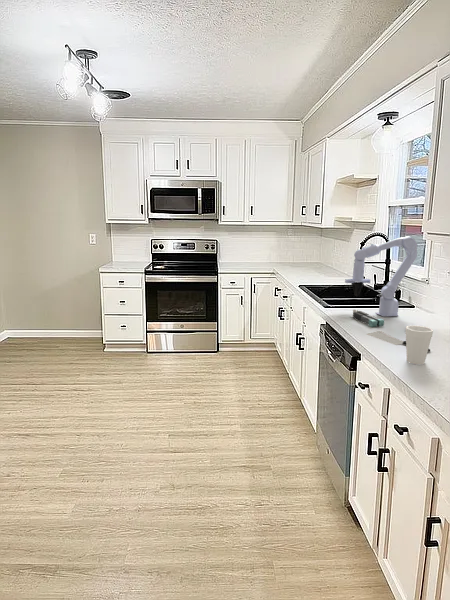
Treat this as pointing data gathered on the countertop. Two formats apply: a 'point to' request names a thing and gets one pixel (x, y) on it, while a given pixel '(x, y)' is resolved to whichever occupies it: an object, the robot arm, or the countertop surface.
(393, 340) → the kitchen cleaver
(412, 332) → the foam cup
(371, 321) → the tongs fixed arm
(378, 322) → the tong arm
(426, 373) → the countertop surface
